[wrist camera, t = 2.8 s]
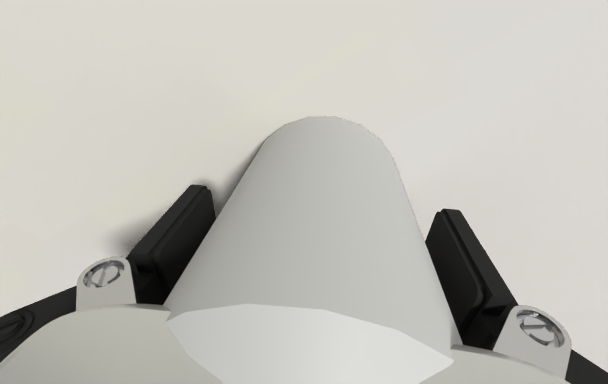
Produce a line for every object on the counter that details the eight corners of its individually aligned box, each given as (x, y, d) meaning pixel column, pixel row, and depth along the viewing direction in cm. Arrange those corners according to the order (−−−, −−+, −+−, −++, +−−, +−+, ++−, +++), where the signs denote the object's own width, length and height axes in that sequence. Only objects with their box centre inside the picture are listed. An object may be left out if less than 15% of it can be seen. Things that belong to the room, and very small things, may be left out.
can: (322, 74, 12) (221, 388, 2) (425, 181, 14) (635, 590, 4) (229, 177, 15) (17, 480, 5) (323, 250, 18) (300, 561, 8)
